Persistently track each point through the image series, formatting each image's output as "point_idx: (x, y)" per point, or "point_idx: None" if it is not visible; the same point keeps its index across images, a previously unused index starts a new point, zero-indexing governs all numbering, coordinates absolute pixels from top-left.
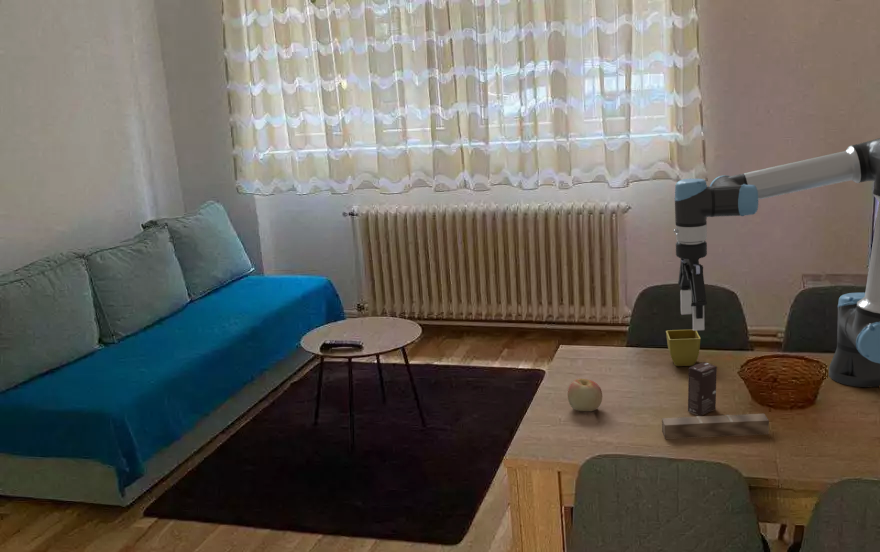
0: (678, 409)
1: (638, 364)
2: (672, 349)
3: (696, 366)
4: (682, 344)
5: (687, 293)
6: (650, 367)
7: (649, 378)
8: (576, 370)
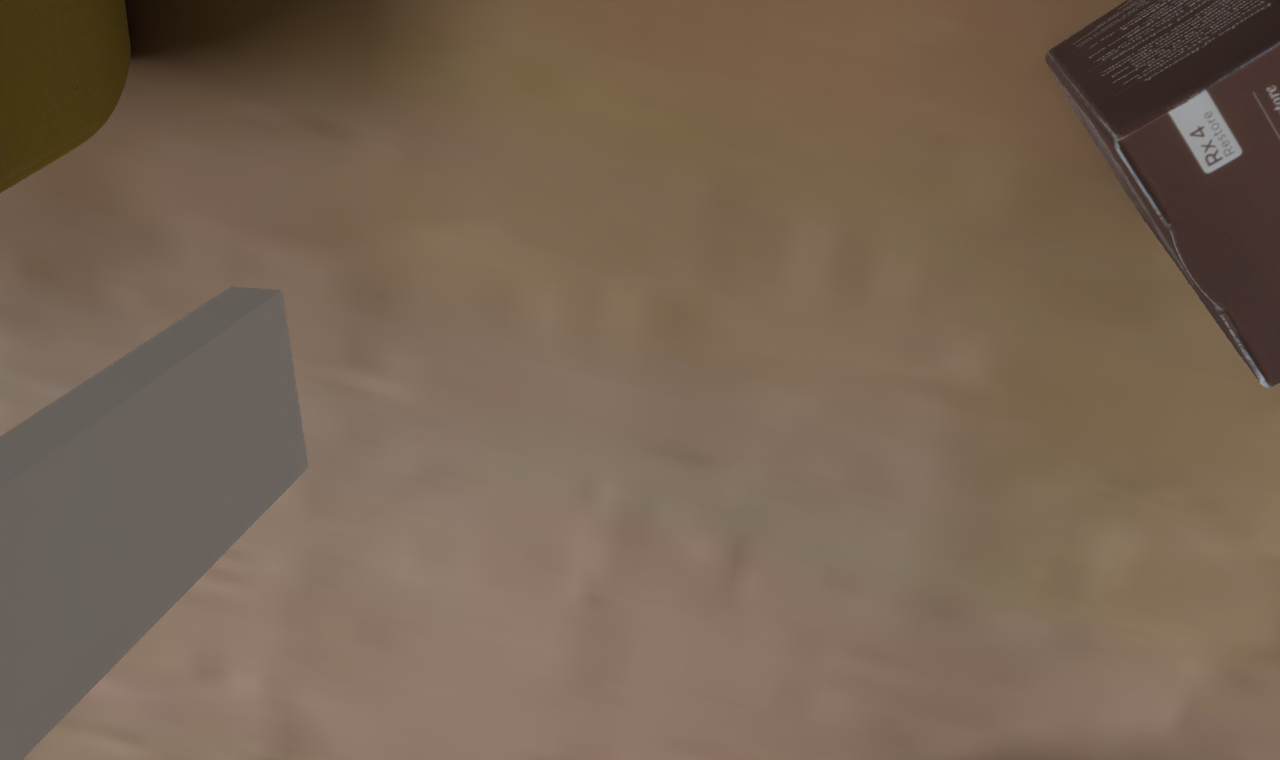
0: (1071, 282)
1: (96, 337)
2: (63, 141)
3: (1267, 291)
4: (14, 48)
5: (2, 602)
6: (154, 266)
7: (381, 331)
8: (222, 733)
